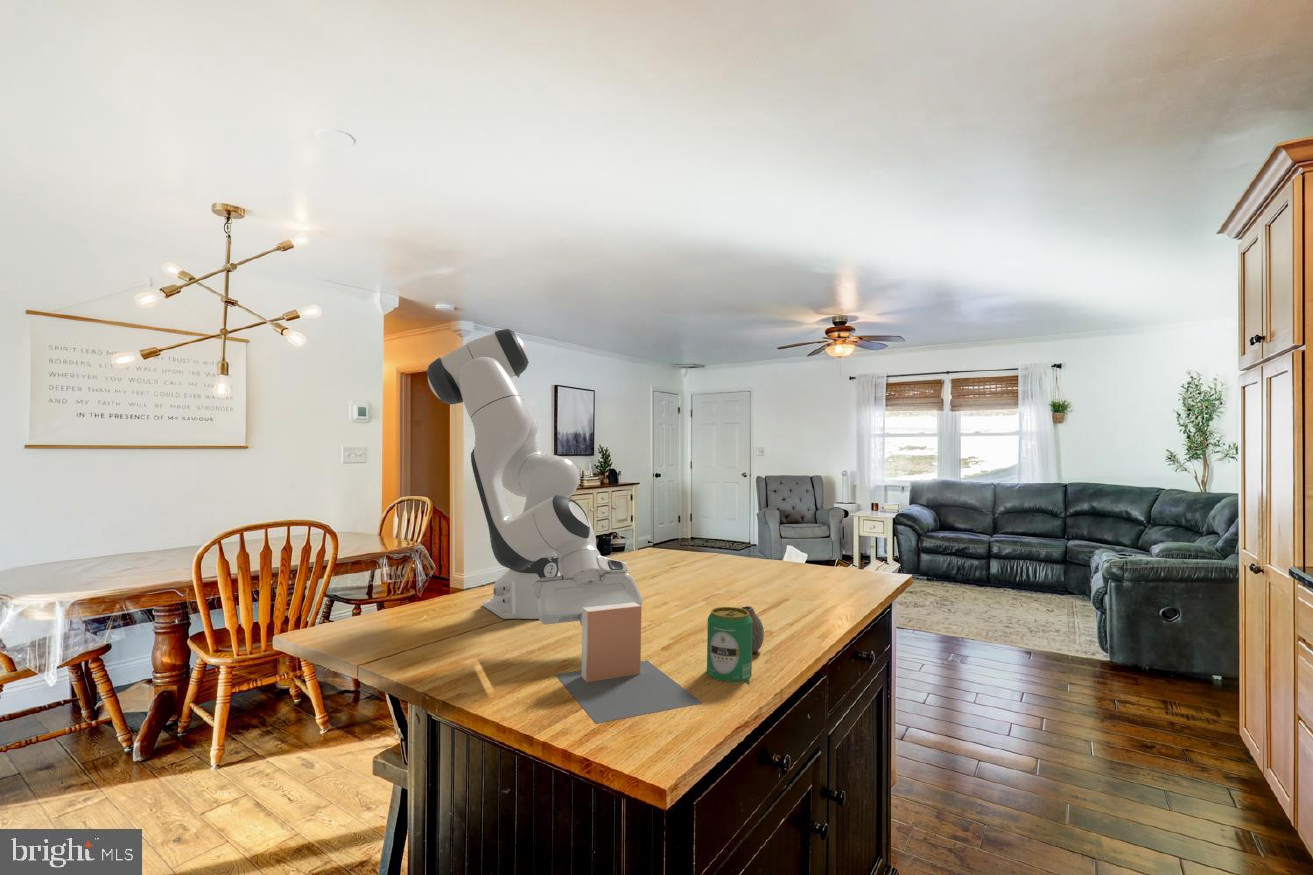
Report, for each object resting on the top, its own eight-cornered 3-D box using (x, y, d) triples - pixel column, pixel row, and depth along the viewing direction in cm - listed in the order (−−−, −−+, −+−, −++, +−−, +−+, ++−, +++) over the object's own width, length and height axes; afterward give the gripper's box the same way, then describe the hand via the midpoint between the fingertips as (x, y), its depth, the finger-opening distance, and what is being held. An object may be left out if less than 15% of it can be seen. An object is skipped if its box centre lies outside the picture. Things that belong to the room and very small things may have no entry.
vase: (722, 650, 126) (723, 607, 126) (742, 642, 131) (742, 601, 131) (751, 658, 121) (751, 614, 121) (770, 650, 126) (770, 607, 127)
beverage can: (700, 682, 109) (701, 614, 109) (714, 668, 116) (715, 604, 116) (744, 690, 105) (745, 620, 106) (756, 675, 113) (757, 609, 113)
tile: (581, 676, 108) (582, 607, 108) (633, 668, 112) (634, 602, 112) (586, 682, 105) (588, 611, 105) (640, 673, 110) (641, 606, 110)
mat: (554, 679, 109) (554, 674, 109) (647, 665, 116) (647, 660, 116) (595, 730, 90) (595, 723, 90) (702, 709, 98) (703, 702, 98)
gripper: (534, 569, 116) (547, 635, 107) (633, 562, 125) (653, 623, 116) (528, 587, 120) (540, 653, 111) (625, 579, 129) (643, 639, 120)
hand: (599, 637), depth 114 cm, fingers closed
